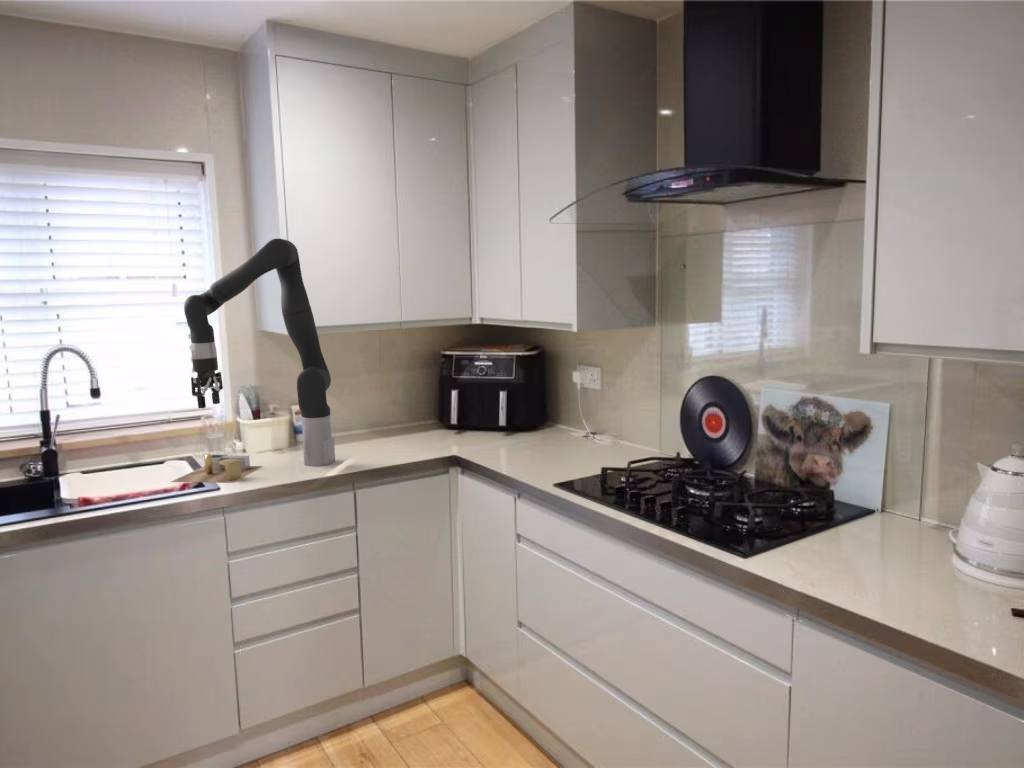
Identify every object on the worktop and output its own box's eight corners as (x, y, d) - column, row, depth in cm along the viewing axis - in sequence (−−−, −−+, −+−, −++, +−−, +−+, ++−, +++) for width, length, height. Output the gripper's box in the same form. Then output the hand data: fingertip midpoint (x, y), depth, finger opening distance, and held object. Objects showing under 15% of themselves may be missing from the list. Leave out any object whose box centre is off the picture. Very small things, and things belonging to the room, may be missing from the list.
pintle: (214, 472, 229) (212, 454, 229) (210, 474, 227) (209, 455, 227) (208, 472, 230) (206, 454, 229) (204, 474, 228) (203, 455, 227)
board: (263, 469, 237) (263, 466, 237) (232, 486, 217) (232, 482, 217) (206, 469, 239) (205, 465, 239) (170, 485, 220) (170, 481, 220)
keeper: (220, 478, 222) (219, 461, 221) (232, 475, 225) (230, 458, 224) (229, 480, 219) (228, 462, 218) (241, 477, 222) (239, 460, 222)
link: (251, 466, 236) (250, 454, 236) (243, 470, 231) (243, 458, 231) (213, 466, 238) (212, 454, 237) (205, 470, 233) (204, 458, 232)
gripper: (203, 358, 227) (208, 409, 229) (226, 354, 241) (231, 402, 243) (180, 359, 228) (186, 409, 230) (205, 354, 242) (210, 402, 244)
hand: (209, 405), depth 237 cm, fingers open, 8 cm apart
